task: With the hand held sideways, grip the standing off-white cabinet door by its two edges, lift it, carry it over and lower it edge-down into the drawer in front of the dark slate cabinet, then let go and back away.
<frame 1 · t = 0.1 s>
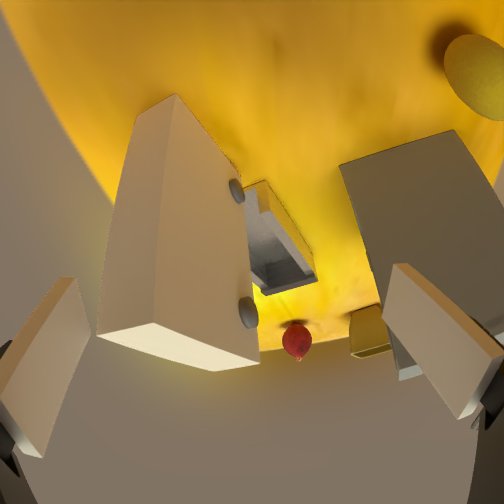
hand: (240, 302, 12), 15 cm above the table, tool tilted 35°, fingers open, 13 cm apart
drawer: (263, 232, 35), on the table
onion: (294, 321, 64), on the table
door: (192, 147, 24), on the table
flower pot: (366, 309, 63), on the table
cabinet: (403, 185, 30), on the table
lemon: (452, 47, 17), on the table
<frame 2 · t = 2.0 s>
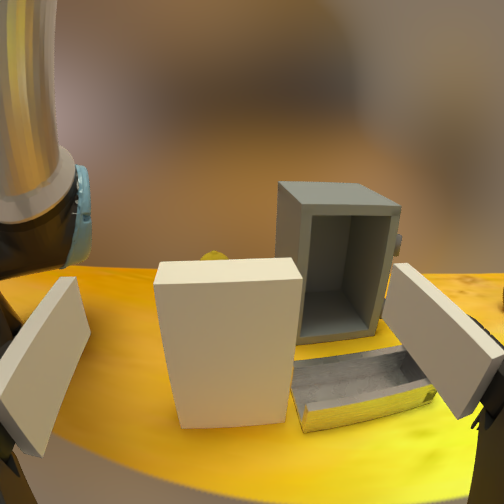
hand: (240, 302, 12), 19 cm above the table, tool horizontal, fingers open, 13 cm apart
drawer: (362, 396, 31), on the table
door: (231, 413, 29), on the table
cabinet: (320, 315, 45), on the table
lemon: (215, 299, 49), on the table
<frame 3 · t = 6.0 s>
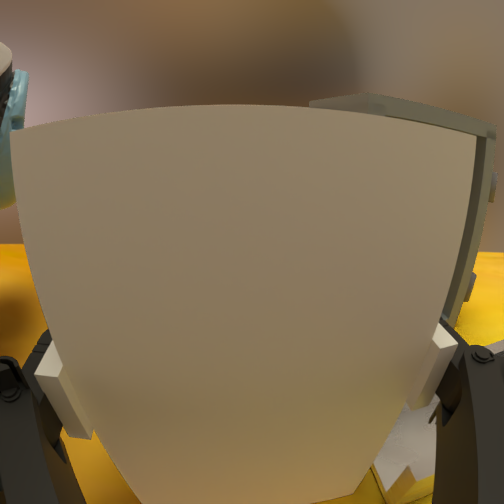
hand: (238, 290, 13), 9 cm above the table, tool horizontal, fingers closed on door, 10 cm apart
drawer: (467, 425, 15), on the table
door: (248, 483, 13), on the table, touching gripper
cabinet: (374, 302, 29), on the table
when the fingers open (10 cm above the table, at t = 11.1 s): door stays where it is, resting on drawer.
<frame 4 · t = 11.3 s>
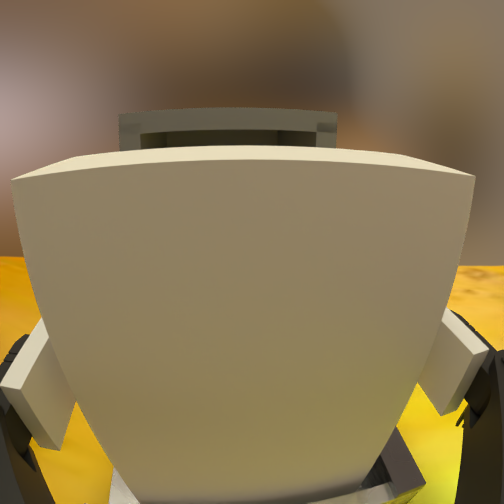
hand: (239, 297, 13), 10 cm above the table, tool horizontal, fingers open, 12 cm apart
drawer: (248, 493, 13), on the table
door: (248, 492, 13), resting on drawer
cabinet: (227, 327, 28), on the table
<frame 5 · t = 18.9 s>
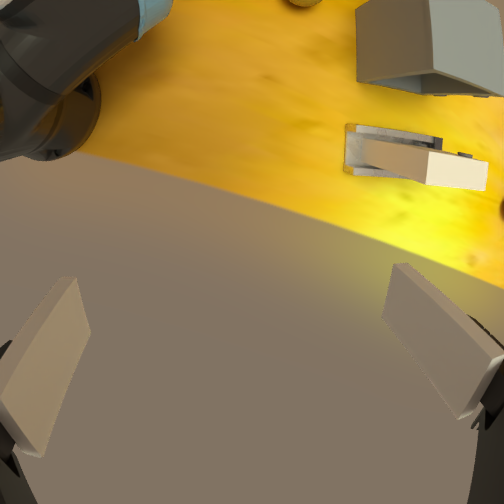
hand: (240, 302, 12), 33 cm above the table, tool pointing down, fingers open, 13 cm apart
drawer: (388, 151, 44), on the table
door: (390, 152, 43), resting on drawer
cabinet: (391, 52, 38), on the table
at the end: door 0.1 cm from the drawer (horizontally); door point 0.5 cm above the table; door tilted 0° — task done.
